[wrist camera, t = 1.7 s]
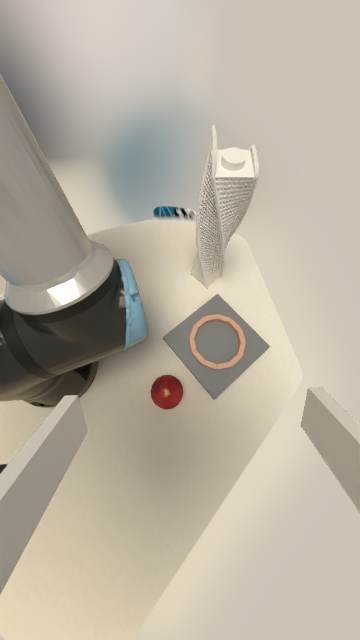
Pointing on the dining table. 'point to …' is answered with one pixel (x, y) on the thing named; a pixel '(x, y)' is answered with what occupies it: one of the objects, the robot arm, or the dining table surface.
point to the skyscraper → (222, 205)
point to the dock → (216, 345)
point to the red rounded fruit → (166, 392)
